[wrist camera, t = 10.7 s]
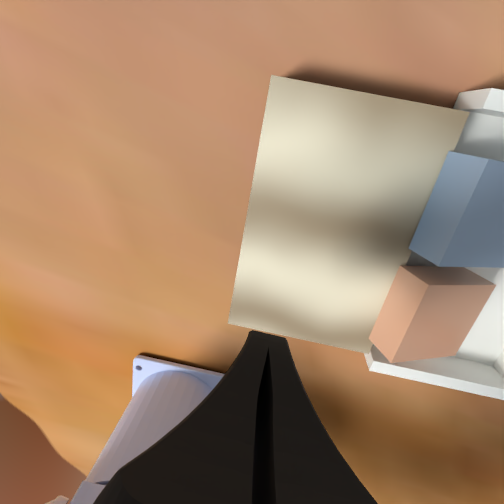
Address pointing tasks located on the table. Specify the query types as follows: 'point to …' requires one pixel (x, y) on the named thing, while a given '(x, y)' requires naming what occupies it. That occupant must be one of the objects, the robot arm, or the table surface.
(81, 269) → the table surface
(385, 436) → the table surface
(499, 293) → the tray
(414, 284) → the terracotta tile
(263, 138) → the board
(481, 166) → the slate tile
